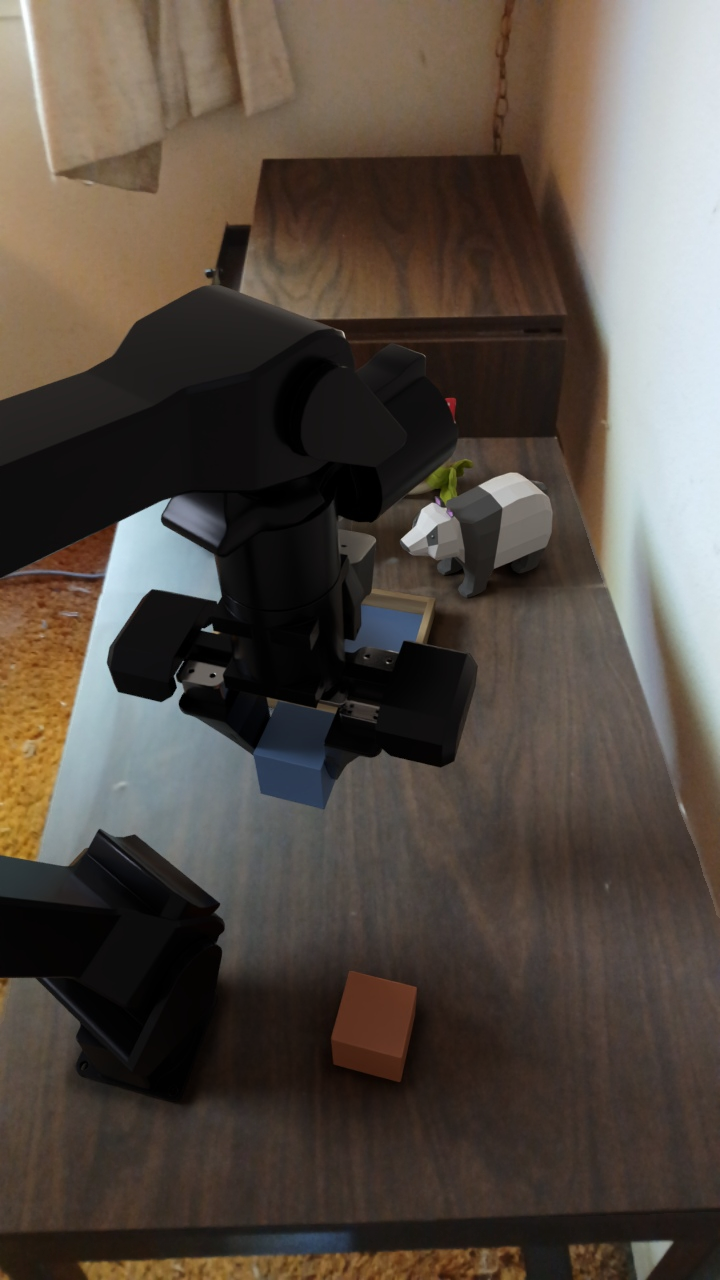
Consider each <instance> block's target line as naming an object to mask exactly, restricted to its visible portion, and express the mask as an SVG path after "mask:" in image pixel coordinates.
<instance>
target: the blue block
mask: <svg viewBox="0 0 720 1280" xmlns="http://www.w3.org/2000/svg"><path fill="white" fill-rule="evenodd" d="M334 716H335V713H330V712H326V711H322V710H317V709H313V708H308V707H304V706H299V705H295V704H290V703H286V702H282V701H278V702H277V704H276V706H275V708H273V711H272V713H271V714H270V719H269V721H268V723H267V725H266V728H265V730H264V732H263V734H262V736H261V738H260V740H259V743H258V745H257V747H256V749H255V751H254V753H253V755H254V756H253V755H252V756H253V759H254V765H255V771H256V775H257V782H258V786H259V792H260V793H259V794H261V795H265V796H269V797H272V798H276V799H281V800H285V801H288V802H292V803H296V804H301V805H305V806H309V807H312V808H317V809H320V810H325V809H326V807H327V804H328V801H329V799H330V797H331V794H332V791H333V788H334V786H335V783H336V781H337V780H334V779H331V777H330V776H329V774H328V772H327V767H326V759H325V752H324V741H325V738H326V736H327V733H328V731H329V728H330V726H331V723H332V721H333V719H334Z"/></svg>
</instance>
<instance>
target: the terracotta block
mask: <svg viewBox="0 0 720 1280" xmlns="http://www.w3.org/2000/svg"><path fill="white" fill-rule="evenodd" d="M417 993H418V987H417V986H413V985H410V984H405V983H402V982H397V981H393V980H389V979H386V978H381V977H377V976H375V975H374V976H373V975H370V974H366V973H361V972H358V971H353V970H349V971H348V974H347V978H346V981H345V985H344V989H343V992H342V996H341V1000H340V1003H339V1007H338V1011H337V1014H336V1018H335V1022H334V1025H333V1029H332V1033H331V1036H330V1045H331V1054H332V1062H333V1063H332V1064H333V1065H334V1066H338V1067H341V1068H346V1069H348V1070H353V1071H357V1072H360V1073H364V1074H366V1075H367V1074H368V1075H371V1076H374V1077H379V1078H381V1079H386V1080H389V1081H393V1082H397V1083H400V1082H401V1081H402V1078H403V1073H404V1068H405V1064H406V1059H407V1054H408V1049H409V1044H410V1040H411V1036H412V1032H413V1026H414V1022H415V1017H416V1010H417V1009H416V1007H417V996H418V994H417Z"/></svg>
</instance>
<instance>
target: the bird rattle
mask: <svg viewBox="0 0 720 1280" xmlns="http://www.w3.org/2000/svg"><path fill="white" fill-rule="evenodd" d="M445 400H446V401H447V403H448V405H449V408H450V410H451V412H452V415H453V419H454V423H456V424H457V422H456V419H455V412H456V407H457V399H456V398H455V397H448V398H445ZM451 458H452V457H451ZM451 458H450V459H449V460H448V461H447V462H445V463H444V464H443V465H442V466H441V467H440V468H438V469H437V470H436V471H435V472H433V473H432V474H431V475H430V476H429V477H427V478H426V479H425V480H424V481H423V482H421V483H420V484H419V485H418V486H417V487H415V488H414V489H413V490H412V491H410V492H409V493H408V494H407V495H411V496H416V495H423V494H427V493H429V492H432V491H433V490H438V489H440V493H439V497H440V498H441V499H442V500H443V501H444V503H445V506H446V503H447V500H450V499H452V498H454V497H457V496H459V495H458V492H457V486H458V478H461V477H464V475H465V469H472V468H474V462H473V461H471V460H469V459H466V458H465V459H464V458H463V459H461V460H457V461H455V462H452V463H451V461H452V459H451Z"/></svg>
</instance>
